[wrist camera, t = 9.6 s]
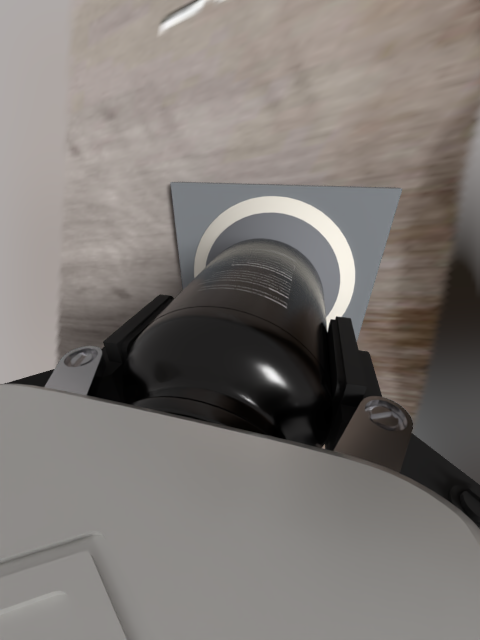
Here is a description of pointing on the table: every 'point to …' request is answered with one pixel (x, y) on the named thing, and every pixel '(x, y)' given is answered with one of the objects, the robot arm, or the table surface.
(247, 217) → the mat
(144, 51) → the table surface
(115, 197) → the table surface
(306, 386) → the supplement bottle
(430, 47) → the table surface
